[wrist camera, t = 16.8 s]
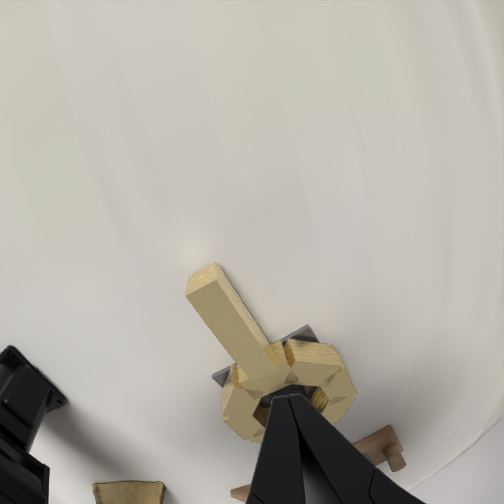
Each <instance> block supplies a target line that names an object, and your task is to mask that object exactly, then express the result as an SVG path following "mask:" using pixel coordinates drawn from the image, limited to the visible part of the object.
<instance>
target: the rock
mask: <svg viewBox="0 0 504 504" xmlns="http://www.w3.org/2000/svg"><path fill="white" fill-rule="evenodd" d="M92 486H93V494H94V496H95V500H96V504H163V499H164V493H165V486H164V485H163V483H162V482H160V481H159V482H155V483H150V482H140V481H125V482H117V483H107V484H97V483H96V484H92Z"/></svg>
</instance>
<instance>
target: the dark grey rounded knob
mask: <svg viewBox="0 0 504 504" xmlns="http://www.w3.org/2000/svg"><path fill="white" fill-rule="evenodd" d="M288 338H289V339H295V340H301V341H308V342H315V343H320V342H319V341H318V339H317V338H316V336H315V334H314V333H313V331H312V330H311V328H310V327H309V325H306V326H304V327H302V328H301V329H299V330H297V331H295V332H294V333H292V334H290V335H288V336H286V337H285V338H283V339H281V342H282V343H283V345H284V346H285V344H286V342H287V340H288ZM234 365H237V363H235V364H234ZM231 366H232V365H231ZM231 366H229V367H227V368H225V369H223V370H221V371H219V372H217V373H215V374H213V375H212V378H213V379H214V380H215V381H216V382H217V383H218V384H219V385H220V386H221V387H222V388H223V387H224V384H225V382H226V379H227V376H228V374H229V371H230V368H231ZM317 387H318V386H307V385H296V384H291V385H288V386H286V387H284V388H282V389H279V390H277V391H275V392H272V393H270V394H268V395H265V396H263V397H261V399H260V401H259V403H258V404H259V405H260V406H261V407H265V408H270V406H271V402H272V398H273V397H275V396H283V395H285V396H288V395H291V394H298V393H299V394H302V395H303V396H304V397H305V398H306V399H307V400H308V401H309V399H310V398H311V397H312V395H313V394H314V392H315V391H316V389H317Z"/></svg>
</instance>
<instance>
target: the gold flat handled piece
mask: <svg viewBox="0 0 504 504" xmlns="http://www.w3.org/2000/svg"><path fill="white" fill-rule="evenodd" d="M185 296H186V297H187V299H188V300H189V301H190V303H191V304H192V306H193V307H194V308H195V310H196V311H197V312H198V314H199V315H200V316H201V318H202V319H203V320H204V322H205V323H206V324H207V326H208V327H209V328H210V330H211V331H212V332H213V334H214V335H215V336H216V337H217V339H218V340H219V341H220V343H221V344H222V345H223V346H224V348H225V349H226V350H227V351H228V353H229V354H230V355H231V357H232V358H233V359H234V360H235V361H236V363H237V365H234V364H232V366H231V368H230V371H229V374H228V376H227V379H226V382H225V384H224V387H223V390H222V392H221V410H222V417H223V421H224V422H225V423H226V424H227V425H228V426H229V427H230V428H232V429H233V430H234V431H235V432H236V433H237V434H239V435H240V436H241V437H242V438H243V439H245V440H247V439H250V442H262V440H263V436H264V432H265V428H266V423H267V419H268V415H269V410H270V408H265V407H261V406H260V405H259V404H258V403H259V401H260V399H261V397H263V396H265V395H268V394H270V393H272V392H275V391H277V390H279V389H282V388H284V387H286V386H288V385H291V384H296V385H307V386H318V387H317V389H316V391H315V392H314V394H313V395H312V397H311V398H310V399H309V402H310V403H311V404H312V405H313V406H314V407H315V408H316V409H317V410H318V411H319V412H320V413H321V414H322V415H323V416H324V417H325V418H326V419H327V420H328V421H329V422H330V423H331V424H335V423H337V422H338V420H339V419H340V418H341V417H342V415H343V414H344V413H345V411H346V410H347V409H348V407H349V406H350V405H351V403H352V402H353V401H354V399H355V398H356V396H355V394H356V393H357V392H356V390H355V387H354V385H353V383H352V381H351V379H350V377H349V374H348V372H347V370H346V368H345V366H344V364H343V362H342V360H341V358H340V356H339V354H338V352H337V351H336V349H335V348H333V349H332V347H331V345H329V344H322V343H315V342H308V341H301V340H295V339H289V338H288V340H287V342H286V344H285V346H284V345H283V343H282V342H281V340H278V341H276V342H274V343H272V344H270V343H269V342H268V340H267V339H266V337H265V336H264V334H263V333H262V331H261V330H260V328H259V327H258V325H257V324H256V322H255V321H254V319H253V318H252V316H251V315H250V313H249V312H248V310H247V308H246V307H245V305H244V304H243V302H242V301H241V299H240V298H239V296H238V295H237V293H236V292H235V290H234V288H233V287H232V285H231V284H230V282H229V281H228V279H227V278H226V276H225V274H224V273H223V271H222V270H221V268H220V267H219V265H218V263H217V262H215V263H213V264H211V265H209V266H207V267H205V268H203V269H202V270H200V271H198V272H196V273H194V274H192V275H190V276H189V279H188V284H187V290H186V295H185Z"/></svg>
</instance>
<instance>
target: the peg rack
mask: <svg viewBox="0 0 504 504" xmlns="http://www.w3.org/2000/svg"><path fill="white" fill-rule="evenodd" d="M353 445H354V446H355V447H356V448H357V449H358V450H359V451H360V452H361V453H362V454H363V453H366V454H367V455H368V456H369V457H370V459H371V460H372V461H373V462H374V464H375V466H376V465H378V464H380V463H382V462H384V461H386V460H387V461H388V463H389V466H390V468H391V470H392V472H396V471H399V470H400V469H402V468H404V467H405V466H406V463H405V461H404V459H403V457H402V455H401V453H400V452H402V451H403V449H402V447H401V445H400V443H399V441H398V439H397V437H396V435H395V433H394V431H393V429H392V427H391V425H389V426H387V427H385V428H383V429H382V430H380V431H378V432H376V433H374V434H373V435H371V436H369V437H367V438H365V439H363V440H361V441H359V442H357V443H355V444H353ZM250 486H251V485H248V486H244V487H241V488H237V489H233V490H231V497H233V498H235V499H237V500H240V501H243V502H245V503H246V500H247V496H248V494H249V490H250Z"/></svg>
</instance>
